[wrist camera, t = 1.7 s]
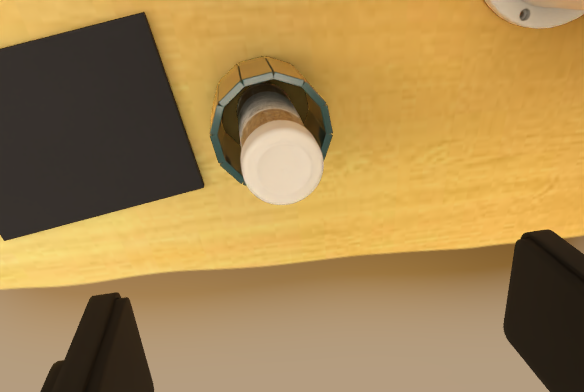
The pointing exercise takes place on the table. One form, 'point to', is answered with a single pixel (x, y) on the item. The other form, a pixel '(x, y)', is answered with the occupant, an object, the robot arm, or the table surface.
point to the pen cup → (254, 74)
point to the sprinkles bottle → (276, 146)
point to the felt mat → (88, 127)
